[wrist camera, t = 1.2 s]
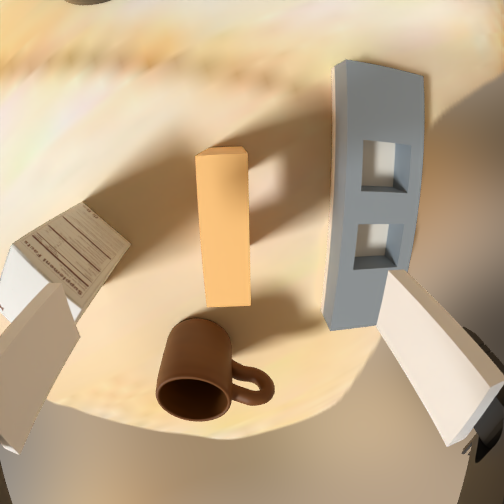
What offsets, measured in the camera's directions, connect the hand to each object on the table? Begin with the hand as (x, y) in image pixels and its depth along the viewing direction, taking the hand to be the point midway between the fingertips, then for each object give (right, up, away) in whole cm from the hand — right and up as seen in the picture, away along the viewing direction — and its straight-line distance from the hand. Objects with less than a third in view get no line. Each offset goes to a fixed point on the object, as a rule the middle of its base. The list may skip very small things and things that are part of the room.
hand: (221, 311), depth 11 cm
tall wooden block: (-1, +7, +17) cm, 18 cm away
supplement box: (-16, +3, +18) cm, 24 cm away
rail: (+13, +8, +18) cm, 23 cm away
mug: (-3, -9, +24) cm, 25 cm away
